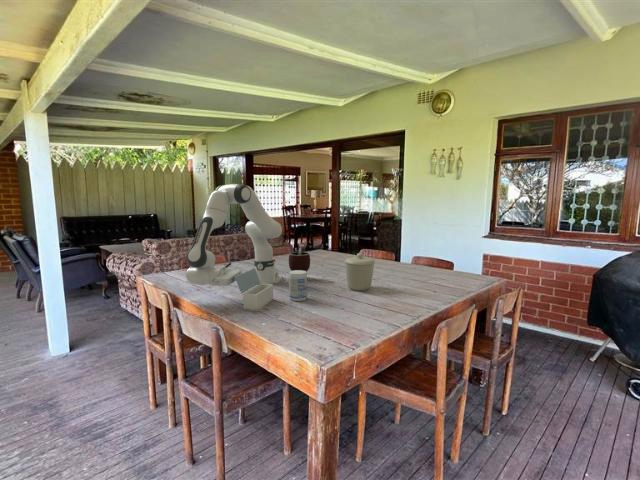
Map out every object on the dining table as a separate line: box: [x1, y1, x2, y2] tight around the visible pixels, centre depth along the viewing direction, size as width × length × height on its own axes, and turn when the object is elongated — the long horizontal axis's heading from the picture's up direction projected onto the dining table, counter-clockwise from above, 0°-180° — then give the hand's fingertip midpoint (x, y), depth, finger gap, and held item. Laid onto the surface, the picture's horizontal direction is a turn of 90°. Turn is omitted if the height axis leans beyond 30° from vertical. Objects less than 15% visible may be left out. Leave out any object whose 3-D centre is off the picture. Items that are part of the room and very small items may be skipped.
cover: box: [235, 267, 260, 295], centre depth 182 cm, size 20×9×1 cm
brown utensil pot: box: [288, 246, 311, 282], centre depth 233 cm, size 16×14×20 cm
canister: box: [343, 252, 376, 292], centre depth 211 cm, size 18×18×21 cm
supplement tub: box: [288, 270, 308, 302], centre depth 191 cm, size 10×10×15 cm
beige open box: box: [242, 284, 274, 312], centre depth 182 cm, size 20×7×8 cm, turn 164°
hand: (244, 277), depth 182 cm, fingers closed
